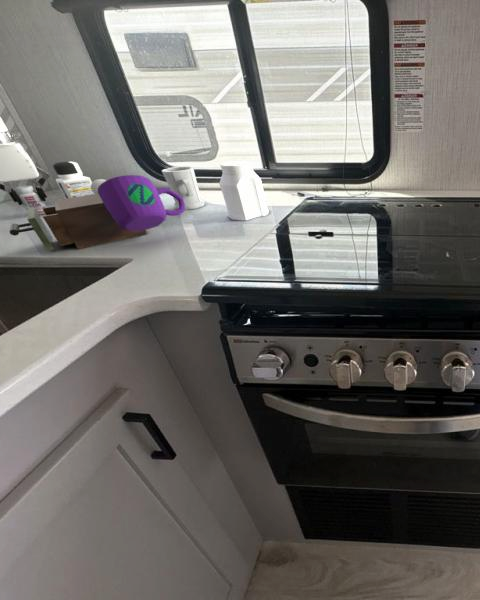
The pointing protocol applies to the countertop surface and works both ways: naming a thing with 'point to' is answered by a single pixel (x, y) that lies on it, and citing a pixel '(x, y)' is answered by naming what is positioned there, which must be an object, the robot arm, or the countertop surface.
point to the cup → (184, 186)
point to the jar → (242, 191)
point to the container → (72, 180)
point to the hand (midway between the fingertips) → (32, 201)
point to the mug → (136, 202)
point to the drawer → (41, 229)
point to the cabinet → (90, 221)
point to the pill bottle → (30, 198)
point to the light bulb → (96, 185)
